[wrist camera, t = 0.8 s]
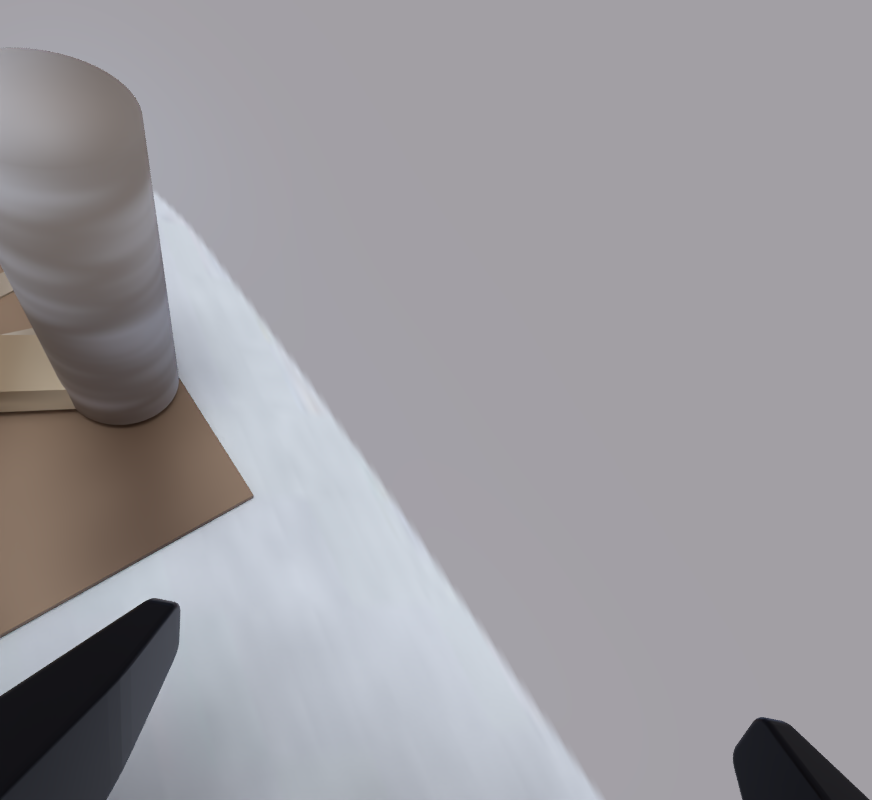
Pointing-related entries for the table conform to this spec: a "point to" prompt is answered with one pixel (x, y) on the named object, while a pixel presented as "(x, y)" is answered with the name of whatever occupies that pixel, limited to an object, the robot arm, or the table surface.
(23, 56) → the crank handle
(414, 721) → the table surface
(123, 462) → the stand board
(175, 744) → the table surface
